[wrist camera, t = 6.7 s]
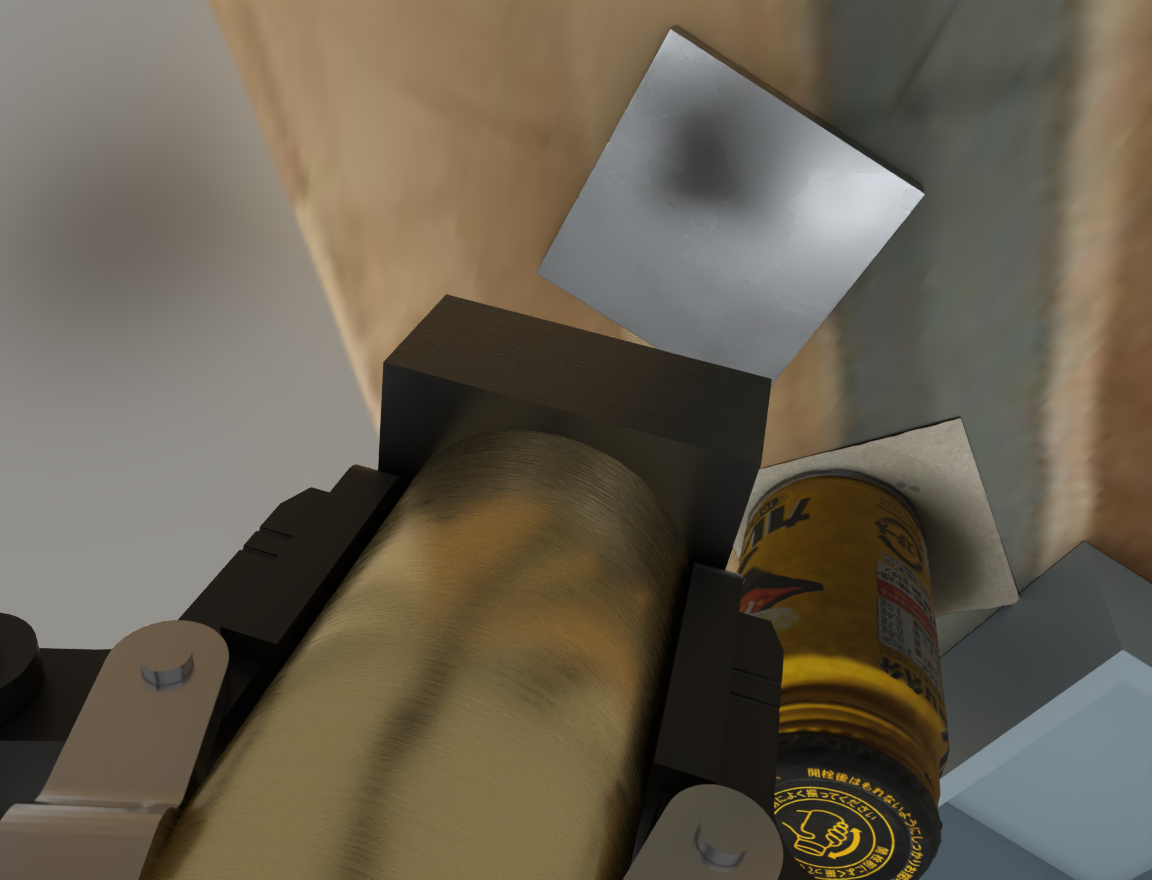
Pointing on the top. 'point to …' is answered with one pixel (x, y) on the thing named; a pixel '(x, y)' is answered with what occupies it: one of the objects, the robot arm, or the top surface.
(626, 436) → the gold cylindrical piece
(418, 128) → the top surface
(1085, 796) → the bin
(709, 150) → the stud plate
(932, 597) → the condiment
